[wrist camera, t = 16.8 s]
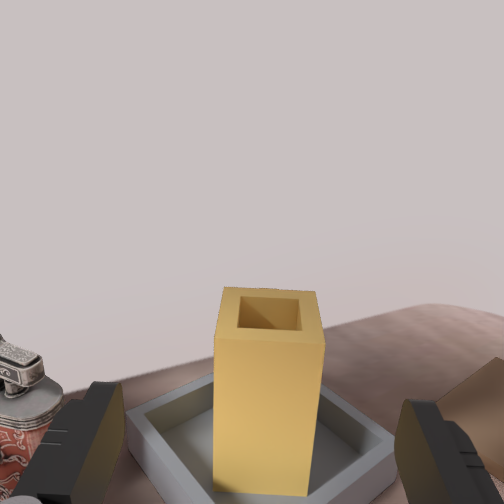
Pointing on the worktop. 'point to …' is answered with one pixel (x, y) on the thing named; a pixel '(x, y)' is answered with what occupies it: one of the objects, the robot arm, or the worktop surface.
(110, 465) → the robot arm
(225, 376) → the yellow open box
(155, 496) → the worktop surface
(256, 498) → the tray
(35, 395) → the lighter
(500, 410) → the board
